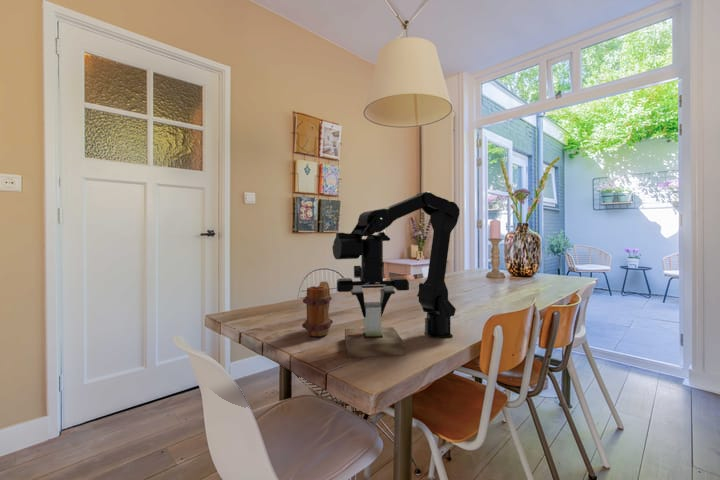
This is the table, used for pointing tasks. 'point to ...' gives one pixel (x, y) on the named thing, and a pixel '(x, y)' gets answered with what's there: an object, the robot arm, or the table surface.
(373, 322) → the column
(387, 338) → the stand block
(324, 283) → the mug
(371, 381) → the table surface
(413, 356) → the table surface
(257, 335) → the table surface
